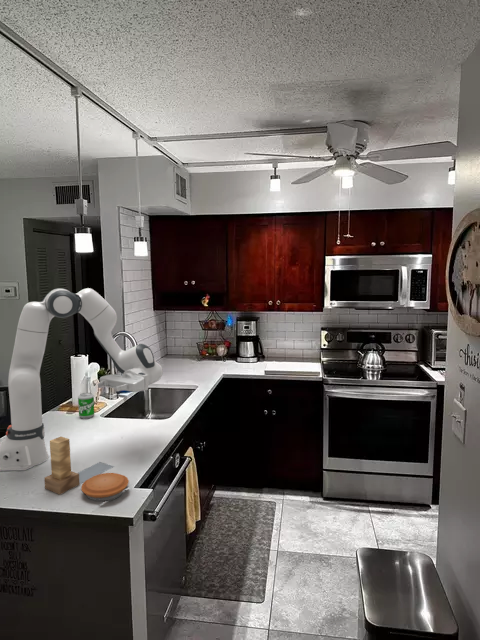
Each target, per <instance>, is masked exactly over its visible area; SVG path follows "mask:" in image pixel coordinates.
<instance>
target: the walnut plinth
mask: <svg viewBox="0 0 480 640" xmlns="http://www.w3.org/2000/svg"><path fill="white" fill-rule="evenodd" d="M43 481H44V489H45V490H47V491H50V492H53V493H55V494H58V495H62V493H63V494H64V493H66V492H68V491H70V490H72V489H75V488H76V487H78V486H80V485H81V484H79V474H78V472H75V471H72V470H71V475H69V476H67V477H65V478H63V479H61V480H59V479H57V478H54V477H52V473H51V474H48V475H47V476H45V477H44V480H43Z"/></svg>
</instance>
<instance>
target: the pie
mask: <svg viewBox="0 0 480 640" xmlns="http://www.w3.org/2000/svg"><path fill="white" fill-rule="evenodd" d="M129 481H130V480H129V478H128V477H127V476H126V475H124V474H121V473H115V472H103V473H101V474H99V475H96V476H93V477H92V478H90V479H88V480H86V481H85V482H84V483H82V484H81V488H80V490H81V491H82V493H83V494H84V495H86V496H87V498H88V499H90V500H92V501H99V502H101V501H102V502H103V503H106V502H110V501H113V500H115V499H118V498H119V497H120V496H121V495H122V494H123V492H124V491H125V489H126V488H127V487H128V486H129V483H130V482H129Z"/></svg>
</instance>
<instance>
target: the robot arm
mask: <svg viewBox="0 0 480 640" xmlns="http://www.w3.org/2000/svg"><path fill="white" fill-rule="evenodd" d="M77 313H79V314H80V315H81V316H82V317H84V319H85V320H86V321H87V322H88V323H89V324H90V326H91V327H92V329H93V334H94V337H95V339H96V340H97V342H98V343H99V345H100V346H101V347H102V349H103V350H104V351H105V353H106V354H107V356H109V358H110V359H111V362H112V363H113V364H114V368H115V369H116V370H117V371H118V372H119V373H120V374H121V375H120V374H115V373H114V374H108V375H103V376H100V378H99V382H98V383H97V388H98V389H102V388H104V387H106V388H111V389H114V391H115V392H121V391H127V392H132V393H139V392H143V391H148V390H149V386H151V385H153V384H155V383H157V382H159V381H160V380H161V378H162V377H163V374H164V373H163V372H164V371H163V366H162V365H161V364H160V363H158V362H157V360H155V357H154V354H153V351H152V349H151V348H150V347H149V346H148V345H147V344H143V343H139V344H137V345H135V346H132V347H131V348H129V349H126V350H123V349H122V348H121V347H120V346H119V344H118V343H117V341H116V340H115V339H114V337H113V334H112V331H113V330H114V327H116V324H117V322H118V315H117V312H116V310H115V309H114V307H113V306H112V305H110V304H109V302H108V301H107V300H106V299H105V298H103V296H101V294H99V292H97V291H96V290H94V289H93V288H91V287H90V288H89V287H87V288H83V289H81V290H80V291H78V292H77V293H74V292H71V291H70V290H68V289H66V288H59V287H58V288H54V289H52V290H50V291H49V292H48V293H47V294H45V296H44V297H43V298H42V299H41V301H29V302H27V303H26V304H24V306H23V308H22V310H21V313H20V316H19V319H18V323H17V328H16V333H15V340H14V344H13V351H12V356H11V359H10V360H11V361H10V366H9V371H8V381H7V386H8V394H9V395H8V396H9V406H10V409H9V410H10V423H11V424H10V425H8V427H7V429H6V430H5V431H6V432H5V436H6V437H5V438H4V439H3V440H2V441H0V472H1V471H2V472H3V471H5V472H6V471H27V470H28V469H30V468H32V467H34V466H37V465H40V464H43V463H44V462H46V461H47V460H48V459H49V457H50V455H49V453H48V451H47V447H46V443H45V442H46V441H45V436H46V435H45V426H44V424H45V423H43V412H42V411H43V410H42V408H43V407H42V391H41V390H42V389H41V388H42V385H41V375H40V373H41V367H42V363H43V360H44V359H43V358H44V355H45V351H46V346H47V341H48V340H47V339H48V334H49V327H50V324H51V321H52V319H53V318H55V317H56V318H59V319H60V318H61V319H63V318H68V317H71V316H73V315H75V314H77Z"/></svg>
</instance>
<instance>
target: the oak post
mask: <svg viewBox="0 0 480 640" xmlns="http://www.w3.org/2000/svg"><path fill="white" fill-rule="evenodd" d="M49 450H50V451H49V452H50V470H51V474H52V477H54V478H57V479H59V480H61V479H63V478H65V477H67V476H69V475H71V471H72V466H71V465H72V463H71V443H70V438H68V437H63V436H58V437H56V438H54V439H51V440H49Z"/></svg>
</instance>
